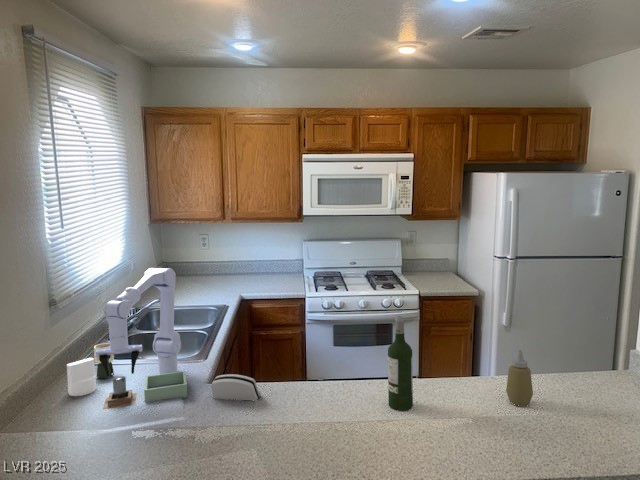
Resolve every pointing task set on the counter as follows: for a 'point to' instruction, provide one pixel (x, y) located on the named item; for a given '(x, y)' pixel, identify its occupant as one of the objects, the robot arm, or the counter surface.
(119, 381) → the strut
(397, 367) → the wine bottle
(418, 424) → the counter surface
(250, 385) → the grey toaster
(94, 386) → the white grooved block
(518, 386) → the squeeze bottle
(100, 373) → the character mug
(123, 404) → the socket block
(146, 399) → the bin
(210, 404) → the counter surface
